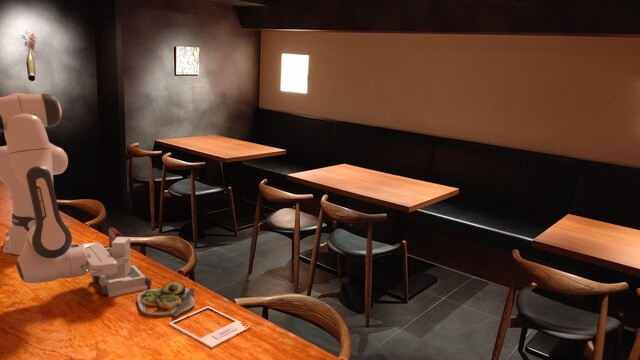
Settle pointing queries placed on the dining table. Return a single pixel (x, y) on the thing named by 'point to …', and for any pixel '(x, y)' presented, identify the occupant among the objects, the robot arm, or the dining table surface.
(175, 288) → the avocado toast plate
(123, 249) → the skincare box
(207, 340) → the photo frame
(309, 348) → the dining table surface
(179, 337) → the dining table surface
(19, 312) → the dining table surface
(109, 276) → the chassis
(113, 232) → the toy fire truck
